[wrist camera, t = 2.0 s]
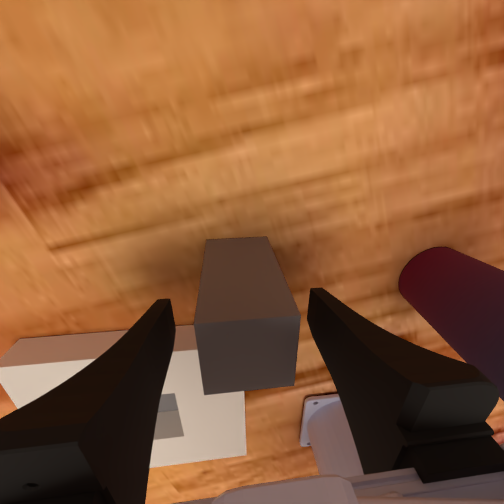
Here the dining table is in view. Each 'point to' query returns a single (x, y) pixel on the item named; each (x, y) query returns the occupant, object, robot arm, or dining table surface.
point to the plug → (245, 318)
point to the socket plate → (171, 402)
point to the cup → (461, 305)
